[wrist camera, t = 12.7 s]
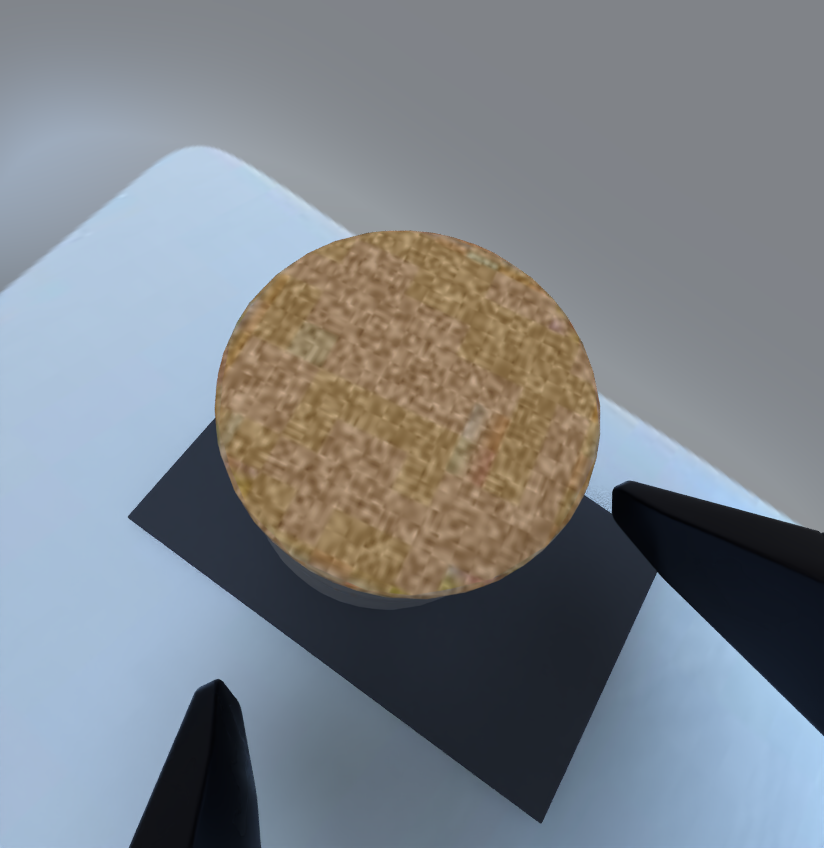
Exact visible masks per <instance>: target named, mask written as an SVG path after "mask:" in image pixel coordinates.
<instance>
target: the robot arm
mask: <svg viewBox="0 0 824 848" xmlns="http://www.w3.org/2000/svg"><path fill="white" fill-rule="evenodd" d="M612 516H613V518H614V520H615V522H616V523H617V525H618V526H619V527H620V528H621V530H622V531H623V532H624V533H625V534H626V535H627V537H628V538H629V539H630V540H631V541H632V543H633V544H634V545H635V546H636V547H637V549H638V550H639V551H640V552H641V553H642V555H643V556H644V557H645V558H646V559H647V560H648V562H649V563H650V564H651V565H652V566H653V568H654V569H655V570H656V571H657V572H658V573H659V574H660V575H661V576H662V578H663V579H664V580H665V581H666V582H667V583H668V584H669V585H670V586H671V587H672V588H673V589H674V590H675V591H676V592H677V593H679V594H680V595H681V596H682V597H683V598H684V599H685V600H686V601H687V602H688V603H689V604H690V605H691V606H692V607H693V608H694V609H695V610H696V611H697V612H698V613H699V614H700V615H701V616H702V617H703V618H704V619H705V620H706V621H707V622H708V623H709V624H710V625H711V626H712V627H713V628H714V629H715V630H716V631H717V632H718V633H719V634H720V635H721V636H722V637H723V638H724V639H725V640H726V641H727V642H728V643H729V644H730V645H732V646H733V647H734V648H735V649H736V650H737V651H738V652H739V653H740V654H741V655H742V656H743V657H744V658H745V659H746V660H747V661H748V662H749V663H750V664H751V665H752V666H753V667H754V668H755V669H756V670H757V671H758V672H759V673H760V674H761V675H762V676H763V677H764V678H765V679H766V680H767V681H768V682H769V683H770V684H771V685H772V686H773V687H774V688H775V689H776V690H777V691H778V692H779V693H780V694H781V695H782V696H783V697H785V698H786V699H787V700H788V701H789V702H790V703H791V704H792V705H793V706H794V707H795V708H796V709H797V710H798V711H799V712H800V713H801V714H802V715H803V716H804V717H805V718H806V719H807V720H808V721H809V722H810V723H811V724H812V725H813V726H814V727H815V728H816V729H817V730H818V731H819V732H820V733H821V734H822V735H823V736H824V533H820V532H819V531H816V530H812V529H809V528H805V527H802V526H798V525H794V524H791V523H787V522H783V521H779V520H776V519H772V518H768V517H765V516H761V515H757V514H753V513H750V512H746V511H742V510H739V509H735V508H731V507H727V506H724V505H720V504H716V503H713V502H709V501H705V500H701V499H698V498H694V497H690V496H687V495H683V494H679V493H675V492H672V491H668V490H664V489H661V488H657V487H653V486H649V485H646V484H642V483H638V482H635V481H626V482H624V483H622V484H620V485H618V486H616V487H614V489H613V491H612ZM129 848H261V842H260V828H259V814H258V803H257V795H256V788H255V782H254V777H253V771H252V766H251V760H250V755H249V749H248V744H247V738H246V733H245V727H244V722H243V716H242V711H241V707H240V705H239V702H238V701H237V699H236V698H235V696H234V695H233V694H232V693H231V691H230V690H229V689H228V688H227V686H226V685H225V684H224V682H223V681H222V680H220V679H216V680H214V681H212V682H210V683H207V684H205V685H203V686H201V687H200V688H198V689H197V690H196V692H195V693H194V696H193V698H192V700H191V703H190V705H189V707H188V710H187V712H186V714H185V717H184V719H183V721H182V724H181V726H180V729H179V731H178V733H177V736H176V738H175V740H174V743H173V745H172V747H171V750H170V752H169V754H168V757H167V759H166V762H165V764H164V766H163V769H162V771H161V773H160V776H159V778H158V780H157V783H156V785H155V787H154V790H153V792H152V795H151V797H150V799H149V802H148V804H147V806H146V809H145V811H144V813H143V816H142V818H141V820H140V823H139V825H138V828H137V830H136V832H135V835H134V837H133V839H132V842H131V844H130V846H129Z"/></svg>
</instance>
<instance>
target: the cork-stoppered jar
mask: <svg viewBox="0 0 824 848" xmlns="http://www.w3.org/2000/svg"><path fill="white" fill-rule="evenodd" d="M215 418H216V430H217V440H218V446H219V450H220V454H221V457H222V459H223V462H224V465H225V467H226V470H227V472H228V475H229V477H230V480H231V483H232V485H233V488H234V490H235V492H236V494H237V496H238V497H239V499H240V500H241V502H242V503H243V505H244V507H245V508H246V510H247V511H248V513H249V514H250V516H251V518H252V519H253V521H254V522H255V523H256V524H257V526H258V527H259V528H260V529H261V530H262V531H263V532H264V533H265V535H266V536H267V538H268V540H269V542H270V543H271V545H272V546H273V548H274V549H275V551H276V552H277V554H278V555H279V556H280V558H281V559H282V561H283V562H284V563H285V564H286V565H287V566H288V567H289V568H290V569H291V570H292V571H293V572H294V573H295V574H296V575H297V576H299V577H300V578H301V579H302V580H304V581H305V582H306V583H307V584H309V585H310V586H311V587H313V588H314V589H316V590H317V591H319V592H320V593H322V594H324V595H326V596H329V597H331V598H333V599H336V600H338V601H340V602H344V603H347V604H351V605H354V606H358V607H365V608H372V609H383V610H395V609H401V608H408V607H414V606H421V605H424V604H426V603H429V602H432V601H435V600H438V599H440V598H443V597H445V596H448V595H453V594H459V593H465V592H469V591H472V590H474V589H477V588H480V587H483V586H485V585H488V584H491V583H493V582H496V581H499V580H500V579H502V578H504V577H505V576H507V575H509V574H510V573H512V572H514V571H515V570H517V569H519V568H520V567H522V566H524V565H525V564H526V563H528V562H529V561H530V560H531V559H533V558H534V557H535V556H536V555H538V554H539V553H540V552H542V551H543V550H544V549H545V548H546V547H547V546H548V545H549V544H550V543H551V542H552V540H553V539H554V538H555V537H556V536H557V535H558V534H559V533H560V532H561V530H562V529H563V528H564V527H565V526H566V524H567V523H568V522H569V520H570V519H571V517H572V515H573V514H574V512H575V510H576V508H577V507H578V505H579V503H580V502H581V500H582V498H583V496H584V494H585V492H586V489H587V487H588V484H589V481H590V478H591V474H592V471H593V468H594V464H595V461H596V458H597V451H598V445H599V438H600V403H599V398H598V393H597V388H596V383H595V378H594V373H593V370H592V367H591V364H590V362H589V359H588V356H587V354H586V351H585V349H584V346H583V344H582V341H581V340H580V338H579V336H578V335H577V333H576V331H575V329H574V328H573V326H572V324H571V322H570V321H569V319H568V317H567V316H566V314H565V313H564V312H563V311H562V309H561V308H560V307H559V306H558V304H557V303H556V302H555V301H554V299H553V298H552V297H551V296H549V294H548V293H547V292H546V291H545V290H544V289H543V288H541V286H539V284H538V283H537V282H536V281H534V280H533V279H532V278H531V277H530V276H528V275H527V274H525V273H524V272H523V271H521V270H519V269H518V268H517V267H515V266H514V265H512V264H511V263H509V262H508V261H506V260H505V259H503V258H501V257H500V256H498V255H497V254H495V253H493V252H491V251H489V250H486V249H484V248H482V247H480V246H477V245H475V244H472V243H469V242H466V241H463V240H460V239H457V238H454V237H449V236H445V235H441V234H436V233H429V232H419V231H418V232H417V231H381V232H372V233H366V234H362V235H358V236H354V237H350V238H346V239H342V240H338V241H334V242H332V243H330V244H328V245H325V246H323V247H321V248H319V249H316V250H314V251H312V252H310V253H308V254H306V255H305V256H303V257H302V258H300V259H299V260H297V261H296V262H294V263H292V264H291V265H290V266H288V267H287V268H285V269H284V270H283V271H281V272H280V273H278V274H277V275H276V276H275V277H274V278H273V279H272V280H271V281H270V282H269V283H268V284H267V285H266V286H265V287H264V288H263V289H262V290H261V291H260V292H259V293H258V294H257V295H256V297H255V298H254V299H253V300H252V301H251V302H250V303H249V305H248V306H247V308H246V309H245V311H244V312H243V314H242V315H241V317H240V318H239V320H238V322H237V324H236V326H235V328H234V330H233V333H232V335H231V337H230V339H229V342H228V344H227V346H226V348H225V351H224V353H223V357H222V361H221V365H220V369H219V372H218V378H217V386H216V399H215Z"/></svg>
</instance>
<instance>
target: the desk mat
mask: <svg viewBox="0 0 824 848" xmlns="http://www.w3.org/2000/svg"><path fill="white" fill-rule="evenodd" d="M128 518H129V519H130V520H132V521H133V522H134V523H136V524H137V525H138V526H140V527H141V528H142V529H144V530H145V531H146V532H148V533H149V534H151V535H152V536H153V537H155V538H156V539H157V540H159V541H160V542H161V543H163V544H164V545H165V546H167V547H168V548H169V549H171V550H172V551H173V552H175V553H176V554H178V555H179V556H180V557H182V558H183V559H184V560H186V561H187V562H188V563H190V564H191V565H192V566H194V567H195V568H196V569H198V570H199V571H200V572H202V573H203V574H205V575H206V576H207V577H209V578H210V579H211V580H213V581H214V582H215V583H217V584H218V585H219V586H221V587H222V588H223V589H225V590H226V591H227V592H229V593H230V594H232V595H233V596H234V597H236V598H237V599H238V600H240V601H241V602H242V603H244V604H245V605H246V606H248V607H249V608H250V609H252V610H253V611H254V612H256V613H257V614H258V615H260V616H261V617H263V618H264V619H265V620H267V621H268V622H269V623H271V624H272V625H273V626H275V627H276V628H277V629H279V630H280V631H281V632H283V633H284V634H285V635H287V636H288V637H290V638H291V639H292V640H294V641H295V642H296V643H298V644H299V645H300V646H302V647H303V648H304V649H306V650H307V651H308V652H310V653H311V654H312V655H314V656H315V657H317V658H318V659H319V660H321V661H322V662H323V663H325V664H326V665H327V666H329V667H330V668H331V669H333V670H334V671H335V672H337V673H338V674H339V675H341V676H342V677H343V678H345V679H346V680H348V681H349V682H350V683H352V684H353V685H354V686H356V687H357V688H358V689H360V690H361V691H362V692H364V693H365V694H366V695H368V696H369V697H370V698H372V699H373V700H375V701H376V702H377V703H379V704H380V705H381V706H383V707H384V708H385V709H387V710H388V711H389V712H391V713H392V714H393V715H395V716H396V717H397V718H399V719H400V720H402V721H403V722H404V723H406V724H407V725H408V726H410V727H411V728H412V729H414V730H415V731H416V732H418V733H419V734H420V735H422V736H423V737H424V738H426V739H427V740H429V741H430V742H431V743H433V744H434V745H435V746H437V747H438V748H439V749H441V750H442V751H443V752H445V753H446V754H447V755H449V756H450V757H451V758H453V759H454V760H455V761H457V762H458V763H460V764H461V765H462V766H464V767H465V768H466V769H468V770H469V771H470V772H472V773H473V774H474V775H476V776H477V777H478V778H480V779H481V780H482V781H484V782H485V783H487V784H488V785H489V786H491V787H492V788H493V789H495V790H496V791H497V792H499V793H500V794H501V795H503V796H504V797H505V798H507V799H508V800H509V801H511V802H512V803H514V804H515V805H516V806H518V807H519V808H520V809H522V810H523V811H524V812H526V813H527V814H528V815H530V816H531V817H532V818H534V819H535V820H536V821H538V822H539V823H542V822H543V819H544V817H545V815H546V813H547V811H548V809H549V806H550V804H551V802H552V800H553V798H554V795H555V793H556V791H557V789H558V787H559V785H560V782H561V780H562V778H563V776H564V774H565V772H566V769H567V767H568V765H569V763H570V761H571V758H572V756H573V754H574V752H575V750H576V748H577V745H578V743H579V741H580V739H581V737H582V735H583V732H584V730H585V728H586V726H587V724H588V721H589V719H590V717H591V715H592V713H593V711H594V708H595V706H596V704H597V702H598V700H599V697H600V695H601V693H602V691H603V689H604V687H605V684H606V682H607V680H608V678H609V676H610V674H611V671H612V669H613V667H614V665H615V663H616V660H617V658H618V656H619V654H620V652H621V650H622V647H623V645H624V643H625V641H626V639H627V637H628V634H629V632H630V630H631V628H632V626H633V623H634V621H635V619H636V617H637V615H638V613H639V610H640V608H641V606H642V604H643V602H644V600H645V597H646V595H647V593H648V591H649V589H650V586H651V584H652V582H653V580H654V578H655V576H656V573H657V571H656V570H655V569H654V568H653V566H652V565H651V564H650V563H649V562H648V560H647V559H646V558H645V557H644V556H643V555H642V553H641V552H640V551H639V550H638V549H637V547H636V546H635V545H634V544H633V543H632V541H631V540H630V539H629V538H628V537H627V535H626V534H625V533H624V532H623V531H622V530H621V528H620V527H619V526H618V525H617V523H616V522H615V520H614V518H613V516H612V514H611V513H610V512H608V511H607V510H605V509H604V508H602V507H601V506H600V505H598V504H597V503H595V502H594V501H592V500H591V499H589V498H588V497H586V496H585V495H584V496H583V498H582V500H581V502H580V503H579V505H578V507H577V508H576V510H575V512H574V514H573V515H572V517H571V519H570V520H569V522H568V523H567V524H566V526H565V527H564V528H563V529H562V530H561V532H560V533H559V534H558V535H557V536H556V537H555V538H554V539H553V540H552V542H551V543H550V544H549V545H548V546H547V547H546V548H545V549H544V550H543V551H542V552H540V553H539V554H538V555H536V556H535V557H534V558H533V559H531V560H530V561H529V562H528V563H526V564H525V565H524V566H522V567H520V568H519V569H517V570H515V571H514V572H512V573H510V574H509V575H507V576H505V577H504V578H502V579H500V580H499V581H496V582H493V583H491V584H488V585H485V586H483V587H480V588H477V589H474V590H472V591H469V592H465V593H459V594H453V595H448V596H445V597H443V598H440V599H438V600H435V601H432V602H429V603H426V604H424V605H421V606H414V607H408V608H401V609H395V610H383V609H372V608H365V607H358V606H354V605H351V604H347V603H344V602H340V601H338V600H336V599H333V598H331V597H329V596H326V595H324V594H322V593H320V592H319V591H317V590H316V589H314V588H313V587H311V586H310V585H309V584H307V583H306V582H305V581H304V580H302V579H301V578H300V577H299V576H297V575H296V574H295V573H294V572H293V571H292V570H291V569H290V568H289V567H288V566H287V565H286V564H285V563H284V562H283V561H282V559H281V558H280V556H279V555H278V554H277V552H276V551H275V549H274V548H273V546H272V545H271V543H270V542H269V540H268V538H267V536H266V535H265V533H264V532H263V531H262V530H261V529H260V528H259V527H258V526H257V524H256V523H255V522H254V521H253V519H252V518H251V516H250V514H249V513H248V511H247V510H246V508H245V507H244V505H243V503H242V502H241V500H240V499H239V497H238V496H237V494H236V492H235V490H234V488H233V485H232V483H231V480H230V477H229V475H228V472H227V470H226V467H225V465H224V462H223V459H222V457H221V454H220V450H219V446H218V440H217V430H216V418H215V419H214V420H213V421H212V422H211V423H210V424H209V425H208V426H207V428H206V429H205V430H204V431H203V432H202V433H201V434H200V436H199V437H198V438H197V439H196V440H195V441H194V442H193V443H192V445H191V446H190V447H189V448H188V449H187V450H186V451H185V452H184V454H183V455H182V456H181V457H180V458H179V459H178V460H177V462H176V463H175V464H174V465H173V466H172V467H171V468H170V469H169V471H168V472H167V473H166V474H165V475H164V476H163V477H162V478H161V480H160V481H159V482H158V483H157V484H156V485H155V486H154V488H153V489H152V490H151V491H150V492H149V493H148V494H147V495H146V497H145V498H144V499H143V500H142V501H141V502H140V503H139V504H138V506H137V507H136V508H135V509H134V510H133V511H132V512H131V513H130V515H129V516H128Z"/></svg>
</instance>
